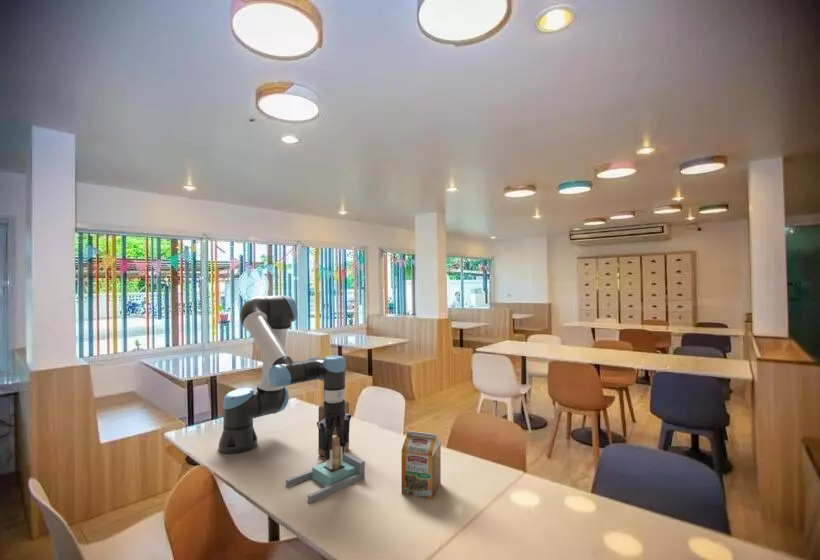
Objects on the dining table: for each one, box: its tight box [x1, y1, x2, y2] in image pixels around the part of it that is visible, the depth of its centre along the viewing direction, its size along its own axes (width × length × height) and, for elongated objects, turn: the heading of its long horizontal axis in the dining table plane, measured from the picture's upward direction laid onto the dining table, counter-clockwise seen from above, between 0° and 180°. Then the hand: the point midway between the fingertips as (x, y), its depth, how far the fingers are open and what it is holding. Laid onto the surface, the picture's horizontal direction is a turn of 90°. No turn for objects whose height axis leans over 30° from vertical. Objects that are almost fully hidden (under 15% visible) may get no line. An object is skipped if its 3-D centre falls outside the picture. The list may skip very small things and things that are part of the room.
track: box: [285, 451, 366, 504], centre depth 138 cm, size 16×22×6 cm
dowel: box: [329, 435, 340, 472], centre depth 141 cm, size 4×4×14 cm
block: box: [317, 400, 350, 457], centre depth 162 cm, size 10×10×20 cm
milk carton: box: [401, 430, 442, 501], centre depth 134 cm, size 11×11×19 cm
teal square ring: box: [311, 460, 356, 488], centre depth 141 cm, size 11×11×4 cm
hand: (334, 465), depth 141 cm, fingers closed on dowel, 3 cm apart
